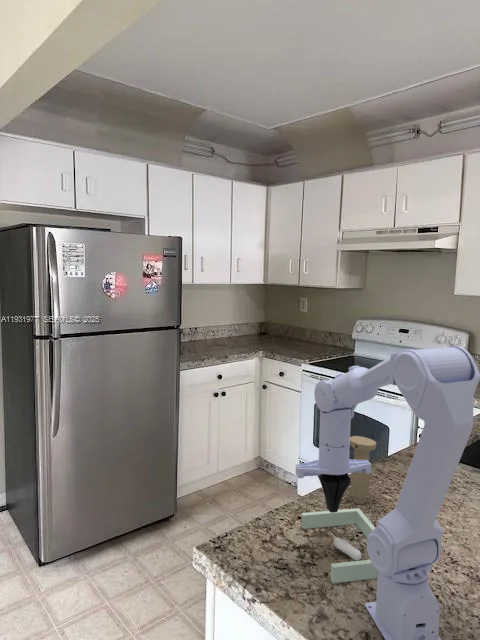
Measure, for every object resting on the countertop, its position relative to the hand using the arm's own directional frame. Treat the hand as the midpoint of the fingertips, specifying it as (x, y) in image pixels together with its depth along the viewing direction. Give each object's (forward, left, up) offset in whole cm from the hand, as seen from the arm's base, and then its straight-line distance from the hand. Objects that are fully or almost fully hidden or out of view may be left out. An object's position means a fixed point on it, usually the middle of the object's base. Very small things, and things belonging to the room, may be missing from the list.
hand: (332, 509), depth 87 cm
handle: (+17, -14, -9) cm, 24 cm away
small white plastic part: (-2, -3, -9) cm, 9 cm away
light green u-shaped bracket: (0, -3, -8) cm, 9 cm away
